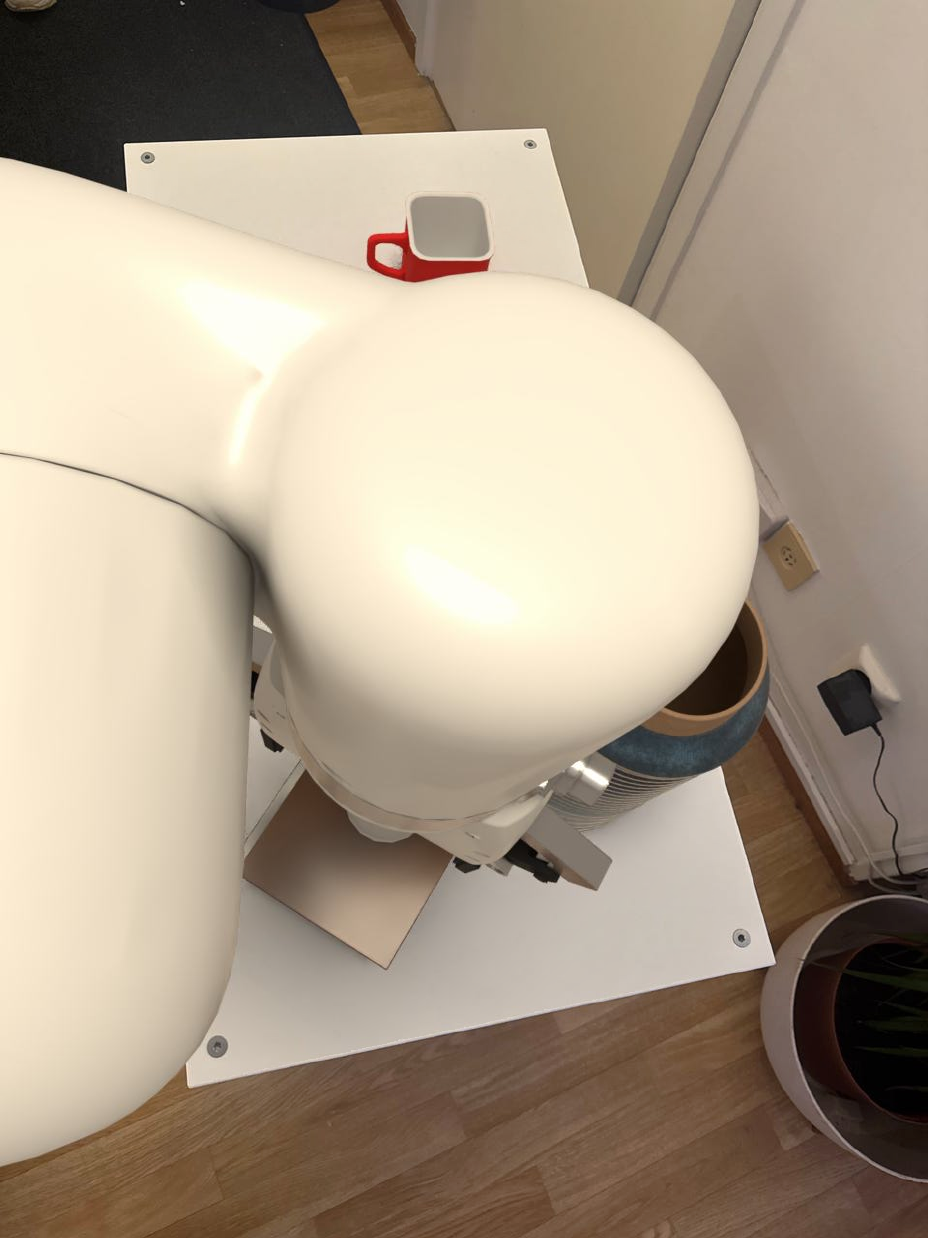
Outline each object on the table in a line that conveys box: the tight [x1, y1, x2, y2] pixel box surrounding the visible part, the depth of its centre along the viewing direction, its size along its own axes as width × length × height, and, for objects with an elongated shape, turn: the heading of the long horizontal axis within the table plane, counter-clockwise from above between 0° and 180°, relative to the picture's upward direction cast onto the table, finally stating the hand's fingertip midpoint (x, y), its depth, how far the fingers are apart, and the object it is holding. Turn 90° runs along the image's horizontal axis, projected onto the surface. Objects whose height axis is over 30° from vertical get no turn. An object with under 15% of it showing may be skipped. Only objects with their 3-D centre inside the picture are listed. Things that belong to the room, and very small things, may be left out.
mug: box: [366, 190, 496, 283], centre depth 89 cm, size 12×8×11 cm
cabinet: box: [243, 758, 455, 971], centre depth 61 cm, size 11×14×31 cm
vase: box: [546, 596, 771, 832], centre depth 66 cm, size 16×16×32 cm
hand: (383, 779), depth 39 cm, fingers open, 9 cm apart
